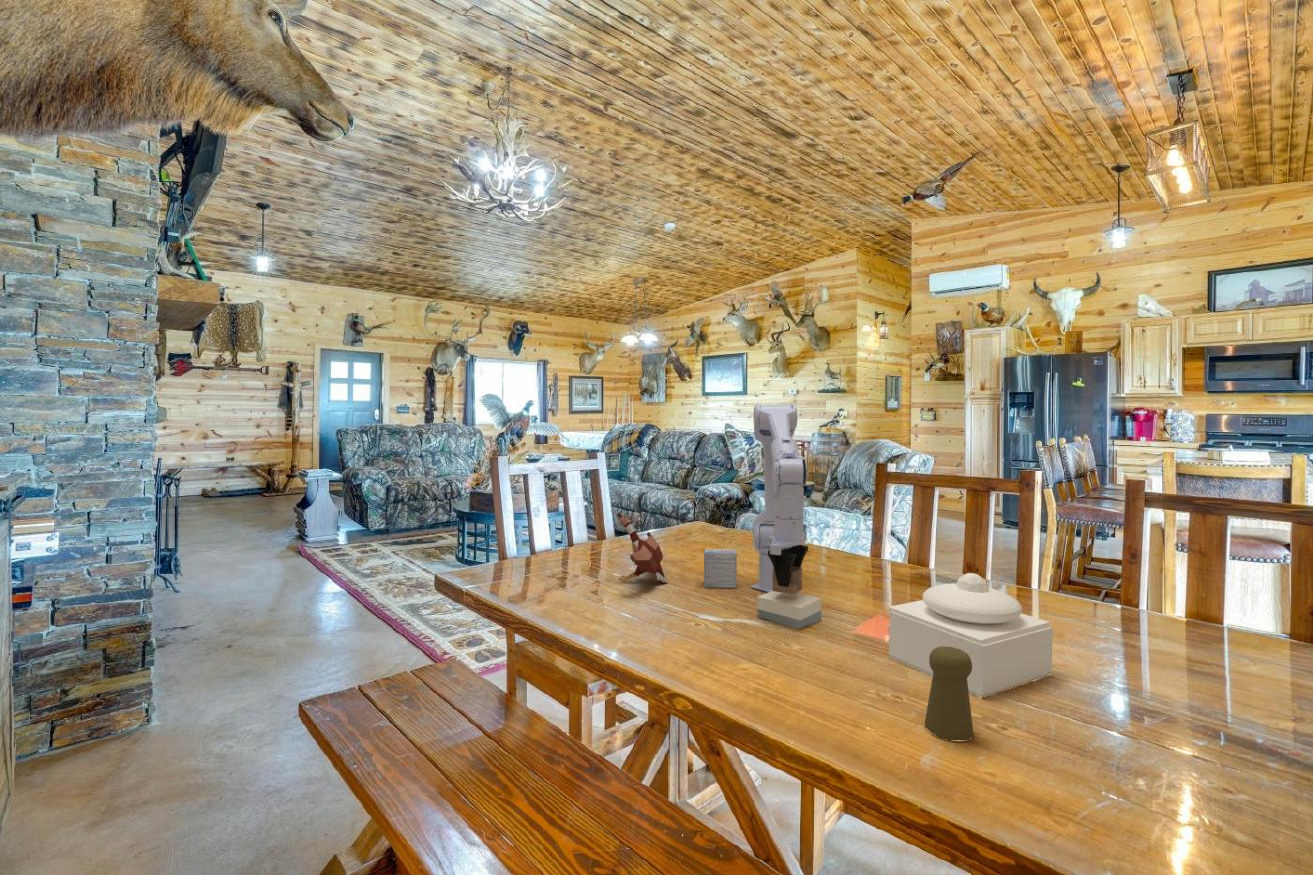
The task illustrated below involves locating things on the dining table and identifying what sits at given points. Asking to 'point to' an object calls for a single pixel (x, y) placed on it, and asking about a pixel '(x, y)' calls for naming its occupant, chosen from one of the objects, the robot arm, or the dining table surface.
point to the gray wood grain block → (720, 568)
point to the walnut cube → (794, 583)
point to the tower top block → (789, 604)
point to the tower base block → (790, 619)
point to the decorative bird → (644, 554)
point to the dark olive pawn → (949, 694)
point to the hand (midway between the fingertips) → (787, 583)
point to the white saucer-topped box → (973, 634)
